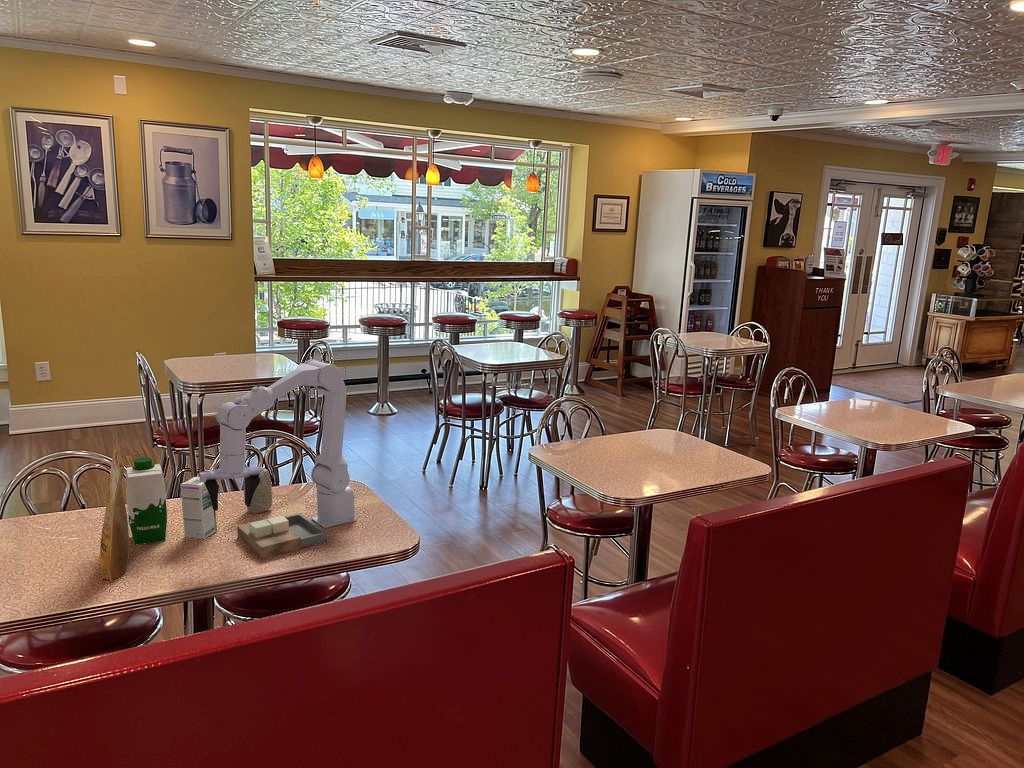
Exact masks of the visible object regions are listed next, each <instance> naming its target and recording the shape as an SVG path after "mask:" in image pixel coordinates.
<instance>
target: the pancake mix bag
mask: <svg viewBox="0 0 1024 768" xmlns="http://www.w3.org/2000/svg"><path fill="white" fill-rule="evenodd" d="M112 447H113V448H112V456H111V457H112V458H111V464H110V473H109V474H110V475H109V476H110V479H109V488H108V491H107V492H108V493H107V499H106V505H105V512H104V515H103V516H104V517H103V523H102V531H101V536H100V537H101V538H100V545H99V549H100V551H99V554H100V555H99V559H100V573H101V577H102V579H106V580H105V581H110V583H114V582H115V580H116V581H118V580H119V578H120V579H122V578H123V577H124V576H125V575H126V573H127V572H126V571H127V568H128V564H129V557H130V532H129V531H130V530H129V528H130V527H129V519H128V511H127V505H126V502H125V498H124V493H123V487H122V480H123V477H124V475H125V461H124V460H123V458H122V454H121V447H120V445H119V444H117V443H116V441H113V442H112ZM124 574H125V575H124ZM123 575H124V576H123ZM122 576H123V577H122ZM121 577H122V578H121ZM117 579H118V580H117Z"/></svg>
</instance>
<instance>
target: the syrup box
mask: <svg viewBox="0 0 1024 768" xmlns="http://www.w3.org/2000/svg"><path fill="white" fill-rule="evenodd" d="M199 478H200V476H193V477H191V478H190V479H188V480H187V481H184V482H182V483H180V496H181V508H182V509H181V510H182V519H183V530H184V531H183V532H184V533H183V535H184V538H190V539H196V540H197V539H198V540H205V539H207V538H209V537H210V536H212V535H213V534H214V533H215V532H217V531H218V527H217V516H216V515H217V514H216V512H217V511H214V510H213V508H212V502H211V498H210V495H209V493H208V490H207V488H206V486H205V484H204V482H201V481H200V480H199Z"/></svg>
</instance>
